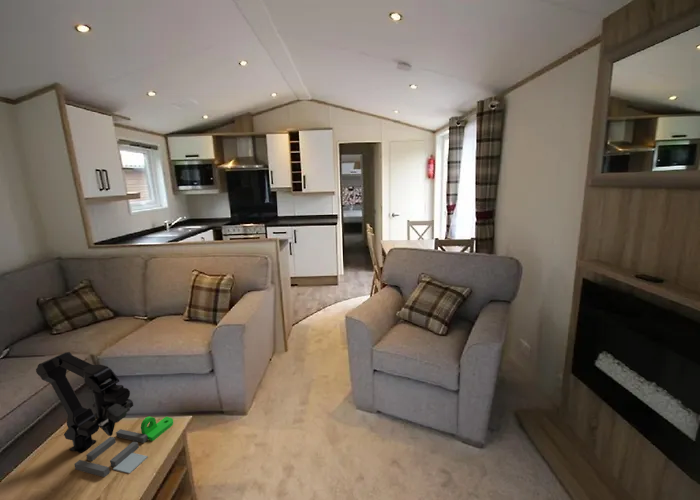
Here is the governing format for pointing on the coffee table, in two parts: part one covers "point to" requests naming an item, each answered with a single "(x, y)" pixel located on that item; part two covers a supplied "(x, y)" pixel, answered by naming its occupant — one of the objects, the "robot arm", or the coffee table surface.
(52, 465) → the coffee table surface
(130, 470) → the felt pad
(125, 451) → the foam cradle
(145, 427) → the mechanical part
